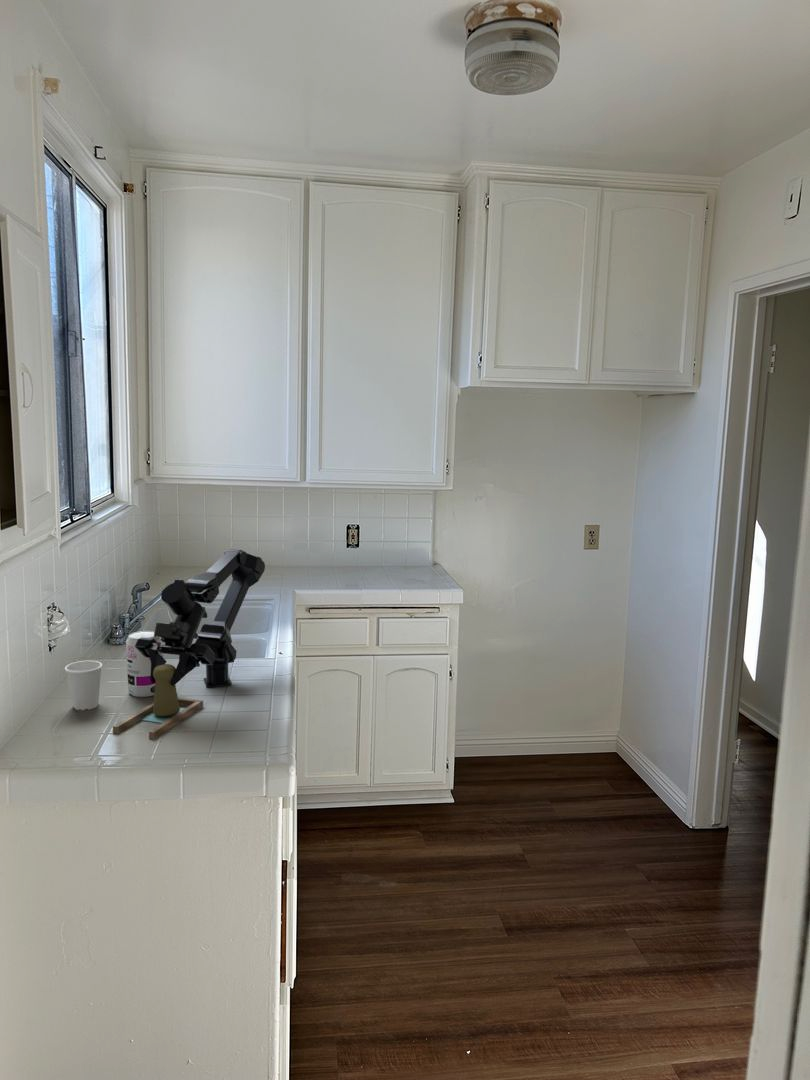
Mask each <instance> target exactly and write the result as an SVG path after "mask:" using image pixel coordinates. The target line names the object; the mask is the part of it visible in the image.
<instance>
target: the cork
mask: <svg viewBox="0 0 810 1080" xmlns="http://www.w3.org/2000/svg"><path fill="white" fill-rule="evenodd" d="M175 670H176V666H174V665H173V664H169V663H166V664H163V665H159V666H157V667H155V669H154V671H153V676H154V679H155V680H156V685H155V695H153V697H154V699H153V702H154V707H153V713H154V714H155V715H159V716H168V715H173V714H176V713H178V712H179V711H180V708H181V707H180V705H179V702H178V692H177V686H176V684H175V685H174V686H172V685H171V680H172V677H173V675H174V672H175Z"/></svg>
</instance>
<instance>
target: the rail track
mask: <svg viewBox="0 0 810 1080" xmlns="http://www.w3.org/2000/svg"><path fill="white" fill-rule="evenodd" d="M178 702H179V706H182V707H185V708H182V707H180V711H179V712H178V713H176V714H173V715H168V716H159V715H155V714H154V713H153V707H154V701H153V702H152V703H150V704H148V705H147V706H145V707H144V708H142V709H139V710H138V711H137V712H135V713H132V715H129V716H128V717H125V719H123V720H121V721H119V722H118V723H116V724H114V725H113V726H112V733H113V734H119V733H121V732H122V731H124V730H126V729H128V728H129V727H131V726H132V725H134V724H137V722H139V721H143V722H150V723H156V724H159V725H157V726H156V727H154V728H153V729H151V730H149V731H148V739H152V740H155V739H156V738H158V737H159V736H161V735H162V734H164V733H165V732H167V731H168V730H170V729H171V728H173V727H174V726H176V725H177V724H179V723H180V722H182V721H183V720H185V719H186V718H188V717H190V716H191V715H192V714H194V713H196V712H197V711H199V710H200V709H201V708H203V707H204V700H202V699H195V698H194V699H193V698H187V697H178Z"/></svg>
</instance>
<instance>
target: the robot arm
mask: <svg viewBox="0 0 810 1080" xmlns="http://www.w3.org/2000/svg"><path fill="white" fill-rule="evenodd" d="M265 564H266V563H265V562H264V561H263V558H262V557H260V556H256V555H253V554H250V553H247V552H246V551H244V550H242V549H235V548H233V549H232V548H231V549H226V550H224V552H223V555H222V556H221V557H220V558H219V559H218V560H216V561H215V562H214V563H213V565H211V566H210V567H209V568H208V569H207V570H206V571H205V572H203V573H199V574H196V575H194V576H192V577H191V578H189V579H187V581H186V582H185V581H184V579H177V578H176V579H174V582H173V583H170V584H169V585H167V586H165V588H164V589H162V591H161V594H160V598H161V600H162V601H163V603H164V604H165V605H166V606H167V607H168V609H169V610H170V612H172V613H173V614H174V615H176V617H175V619H174V621H171V622H169V623H164V622H156V623H155V628H154V636H155V637H156V636H158V637H160V639H161V643H164V644H161V645H159V644H158V643H157V641H156V640H155V639H153V638H144V637H141V638H139V639H138V640H137V642H136V644H135V647H136V649H137V650H138V651H139V652H140V653H141V654H142V655H143V656H144V657H147V658H151V677H150V682H151V683H154V682H155V681H156V680H155V679H154V676H153V671H154V669H155V667H157V666H159V665H163V664H167V660H166V659H165V658H164V654H168V655H175V656H176V655H177V656H179V657H178V663H177V665H176V666H175V668H176V670H175V672H174V675H173V677H172V680H171V685H172V686H174V685H175V686H176V685H177V684H178V683H179V682H180V681H181V680H182V679H183V678H184V677H185V676H186V675H188V673H190V672H191V671H192V670H194V669H195V668H199V667H200V666H201V665H204V666H205V674H206V675H205V676H206V677H204V678H203V682H204V685H205V687H206V688H215V687H216V686H217V687H223V686H224V687H225V686H232V685H233V682H232V681H231V678H230V676H229V672H230V671H229V664H233V663H235V660H236V659H237V650H236V649H235V647H234V646H233V645H232V643H233V642H232V641H233V639H232V634H231V629H232V627H233V625H234V623H235V620H236V618H237V616H238V613H239V611H240V610H241V609H240V608H241V607H242V604H243V602H244V600H245V598H246V596H247V593H248V591H249V589H250V588H251V587H252V586H254V585H255V584H257V583H258V582H259V581H260V578H261V577H262V576H263V574H264V572H265V569H266V565H265ZM230 576H231V577H232V580H231V582H230V584H229V586H228V589H227V591H226V593H225V594H224V598H223V599H222V602H221V604H220V606H219V608H218V609H217V610H218V611H217V612H216V614H215V617H214V619H213V622H212V623H204V624H203V625H202V626H201V628H200V631H199V633H197V631H198V629H199V626H200V624H201V621H202V619H207V618H208V613H207V611H206V607H205V606H202V603H203V604H212V603H213V602H214V601H215V599H216V598H217V597H218V595H219V594H220V586H221V585H222V584H223V583H224V582H225V581H226V580H227V579H228V578H229V577H230ZM200 603H201V604H200ZM194 640H195V642H194V643H193V641H194ZM200 663H201V664H200Z"/></svg>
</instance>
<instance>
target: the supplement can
mask: <svg viewBox="0 0 810 1080" xmlns="http://www.w3.org/2000/svg"><path fill="white" fill-rule="evenodd" d="M154 632H155V630H154V631H153V630H141V631H135V632H131V633H129V634H128V637H127V639H126V641H125V647H126V650H125V651H126V668H127V670H126V671H127V689H128V691H127V692H128V693H129V694H131V695H132V696H133V697H137V698H148V697H152V696H153V697H154V696H155V685H156V681H155V682H154V683H151V682H150V677H151V658H147V657H144V656H143V655H142V654H141V653H140V652H139V651H138V650H137V649H136V647H135V644H136V642H137V640H138V639H139V638H141V637H144V638H153V639H155V640H156V641H157V643H158V644H159V645H162V641H161V637H158V636H156V637H155V636H154ZM131 695H130V696H131Z"/></svg>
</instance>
